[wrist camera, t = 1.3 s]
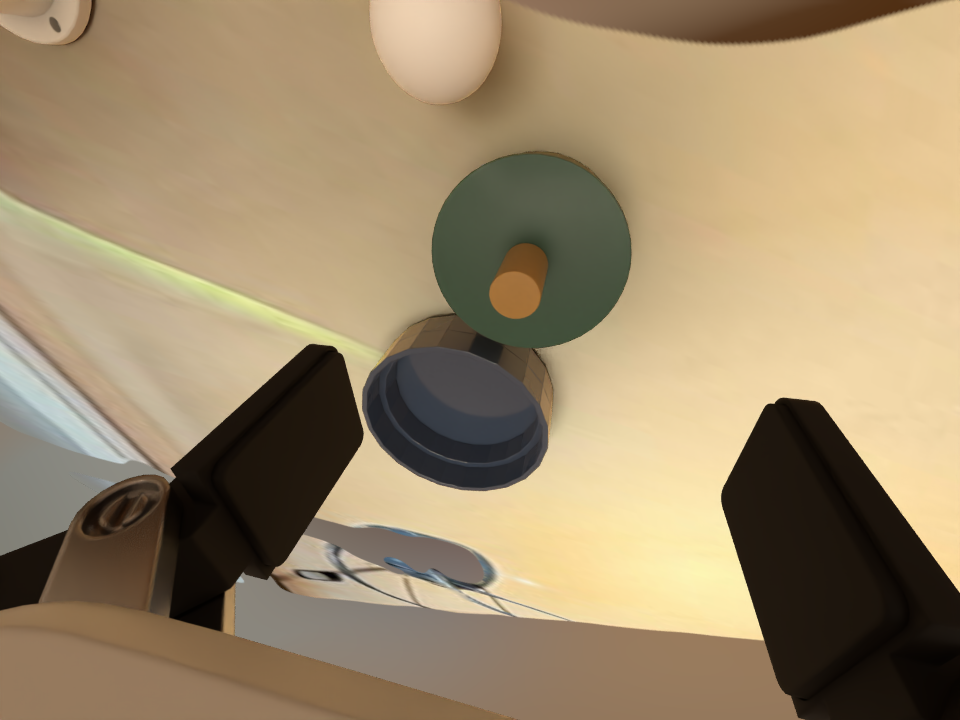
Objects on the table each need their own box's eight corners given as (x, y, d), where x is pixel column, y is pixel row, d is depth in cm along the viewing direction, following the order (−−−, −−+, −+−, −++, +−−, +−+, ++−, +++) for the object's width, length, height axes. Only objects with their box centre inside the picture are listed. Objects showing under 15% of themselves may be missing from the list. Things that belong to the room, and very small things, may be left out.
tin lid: (426, 313, 32) (397, 354, 27) (450, 126, 24) (415, 136, 19) (586, 361, 31) (586, 412, 26) (668, 183, 23) (689, 208, 18)
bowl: (384, 421, 47) (361, 459, 42) (393, 289, 36) (363, 320, 32) (526, 466, 46) (519, 511, 41) (578, 344, 35) (577, 384, 30)
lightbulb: (543, 17, 23) (516, -26, 14) (492, 120, 27) (444, 136, 18) (456, -50, 23) (371, -138, 14) (415, 65, 26) (327, 54, 17)
